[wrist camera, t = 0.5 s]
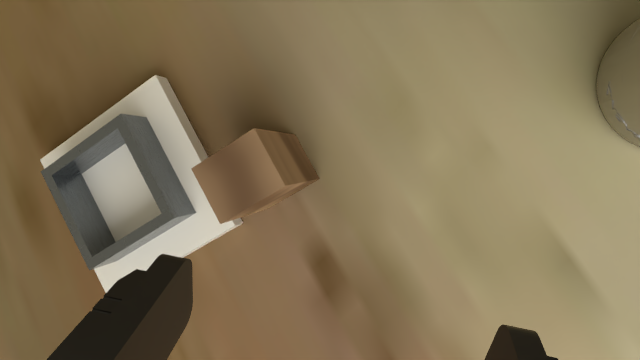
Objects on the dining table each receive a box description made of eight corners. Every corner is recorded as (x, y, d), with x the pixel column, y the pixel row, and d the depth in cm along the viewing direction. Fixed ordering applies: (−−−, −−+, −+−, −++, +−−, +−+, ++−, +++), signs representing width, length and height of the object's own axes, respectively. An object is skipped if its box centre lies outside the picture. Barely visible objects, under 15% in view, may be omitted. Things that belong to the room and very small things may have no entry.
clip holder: (166, 78, 36) (130, 67, 31) (243, 223, 35) (216, 232, 30) (54, 159, 39) (7, 160, 35) (120, 293, 38) (81, 311, 34)
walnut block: (295, 134, 33) (254, 127, 25) (319, 178, 33) (285, 185, 25) (245, 165, 34) (191, 168, 27) (267, 208, 34) (220, 224, 26)
